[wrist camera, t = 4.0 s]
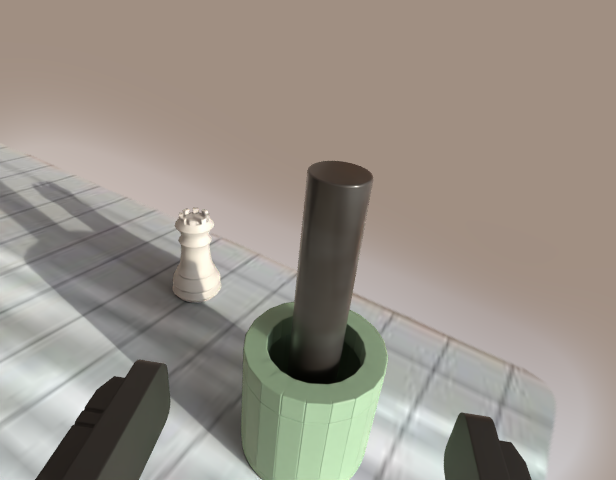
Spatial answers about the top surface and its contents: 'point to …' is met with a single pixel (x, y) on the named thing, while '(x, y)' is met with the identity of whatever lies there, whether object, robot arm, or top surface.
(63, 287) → the top surface
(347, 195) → the rod
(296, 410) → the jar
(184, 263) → the rook chess piece
